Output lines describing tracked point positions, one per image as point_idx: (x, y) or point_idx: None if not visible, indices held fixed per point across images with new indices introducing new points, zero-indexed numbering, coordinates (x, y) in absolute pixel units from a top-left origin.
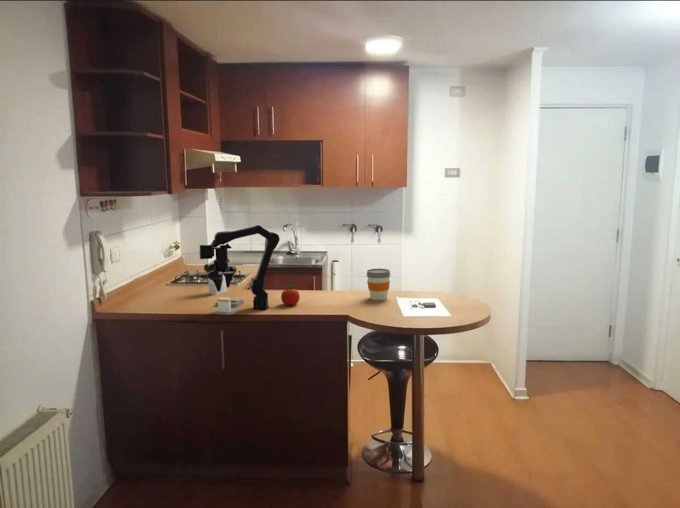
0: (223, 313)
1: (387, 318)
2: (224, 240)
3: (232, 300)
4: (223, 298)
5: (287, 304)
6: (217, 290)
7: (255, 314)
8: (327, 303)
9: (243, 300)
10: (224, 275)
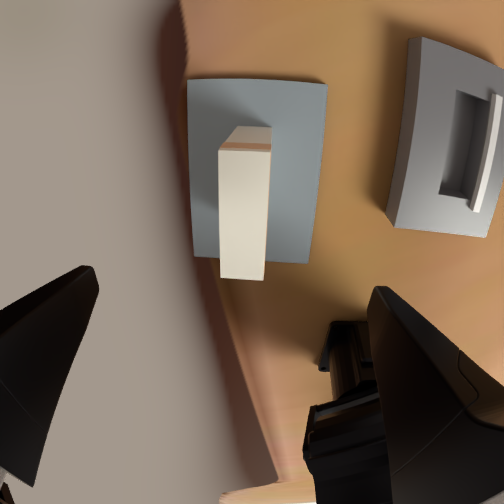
0: (192, 193)
1: (263, 499)
2: None
3: (482, 165)
4: (237, 218)
5: None
6: (71, 273)
7: (243, 350)
8: None
9: (483, 236)
10: (488, 438)
